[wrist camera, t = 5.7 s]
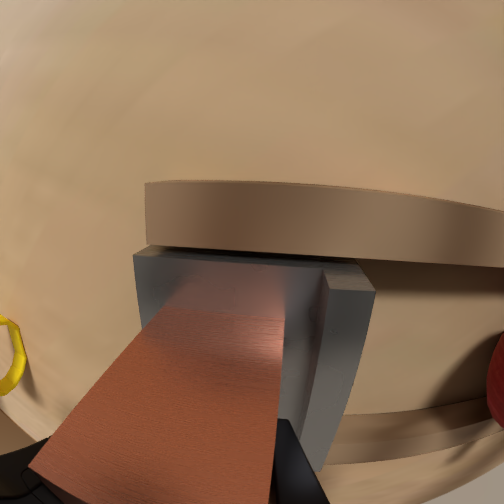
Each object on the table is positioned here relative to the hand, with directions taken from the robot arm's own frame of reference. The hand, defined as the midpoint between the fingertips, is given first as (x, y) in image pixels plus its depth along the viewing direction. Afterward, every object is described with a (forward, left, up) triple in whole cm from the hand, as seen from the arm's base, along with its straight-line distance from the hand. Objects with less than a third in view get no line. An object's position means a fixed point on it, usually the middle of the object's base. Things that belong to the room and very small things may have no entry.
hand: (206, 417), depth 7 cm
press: (-1, 0, -4) cm, 4 cm away
